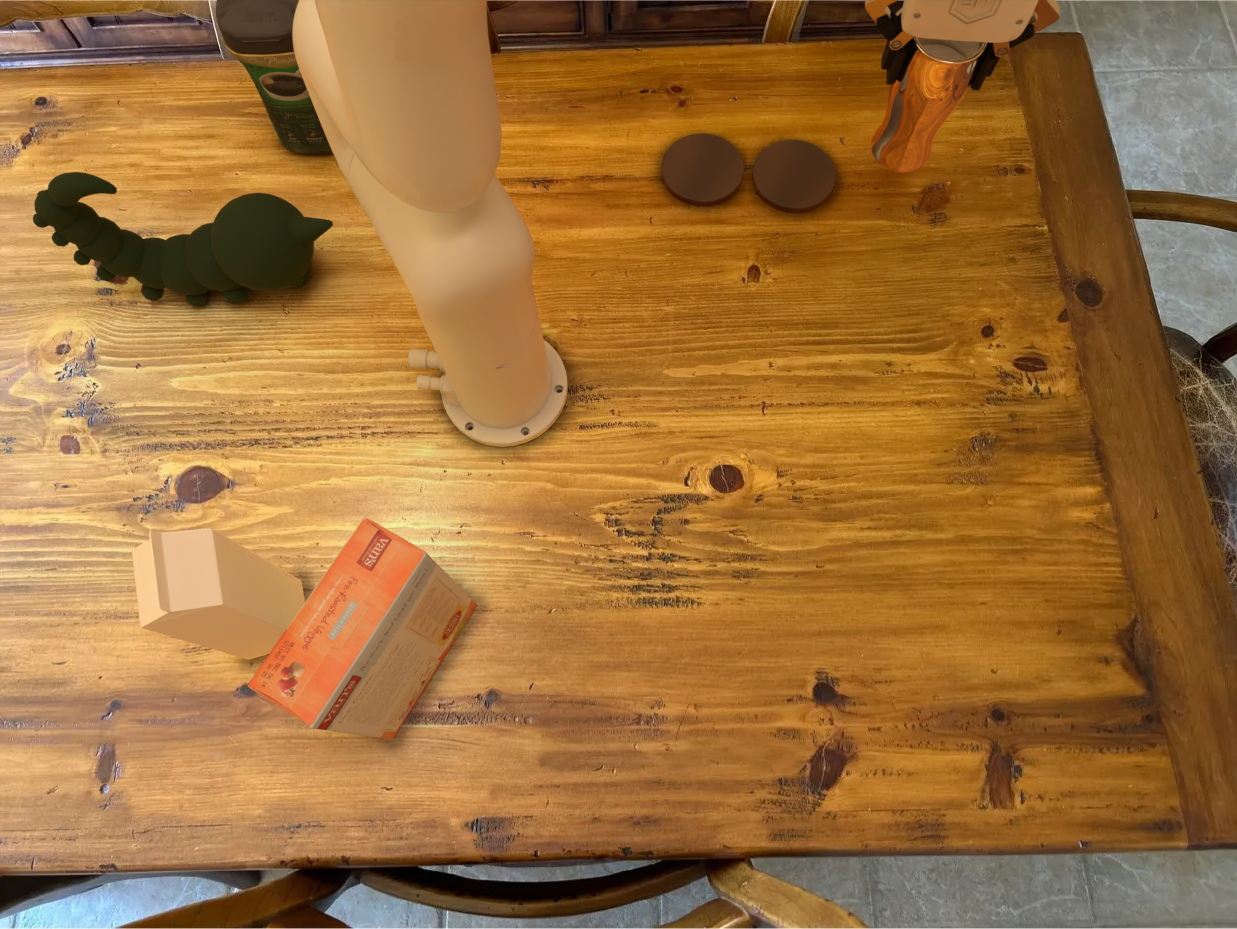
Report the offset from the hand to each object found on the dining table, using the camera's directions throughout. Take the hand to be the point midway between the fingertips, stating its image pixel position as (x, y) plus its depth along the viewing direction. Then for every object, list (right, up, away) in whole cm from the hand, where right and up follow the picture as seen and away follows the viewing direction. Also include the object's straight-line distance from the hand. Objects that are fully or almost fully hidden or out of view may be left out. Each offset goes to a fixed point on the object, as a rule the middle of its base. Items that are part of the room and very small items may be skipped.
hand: (932, 74), depth 81 cm
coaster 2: (-10, -4, +16) cm, 19 cm away
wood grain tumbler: (0, -3, +10) cm, 10 cm away
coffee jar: (-62, +2, +19) cm, 65 cm away
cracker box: (-48, -53, -1) cm, 72 cm away
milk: (-61, -50, 0) cm, 79 cm away
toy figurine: (-69, -16, +13) cm, 72 cm away
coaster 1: (-20, -4, +16) cm, 26 cm away
